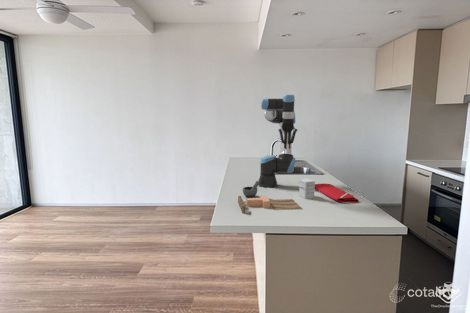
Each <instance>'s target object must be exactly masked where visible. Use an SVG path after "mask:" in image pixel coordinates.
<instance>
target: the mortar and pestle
mask: <svg viewBox="0 0 470 313" xmlns="http://www.w3.org/2000/svg"><path fill="white" fill-rule="evenodd" d="M258 181H259V180H256V181H255V183H254V184H253V186H243V188H242V194H243V196H245V198H255V196H257V193H258V186H259V185H258V184H259V182H258Z"/></svg>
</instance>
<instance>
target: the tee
mask: <svg viewBox="0 0 470 313" xmlns="http://www.w3.org/2000/svg"><path fill="white" fill-rule="evenodd" d="M245 198H246V200H245V201H246V205H247V207H249V208H250V207H262V208H263V209H270V208H271V205H270V200H271V199H269V198H268V197H267V195H260V196H259V197H254V198H247V197H245Z"/></svg>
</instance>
